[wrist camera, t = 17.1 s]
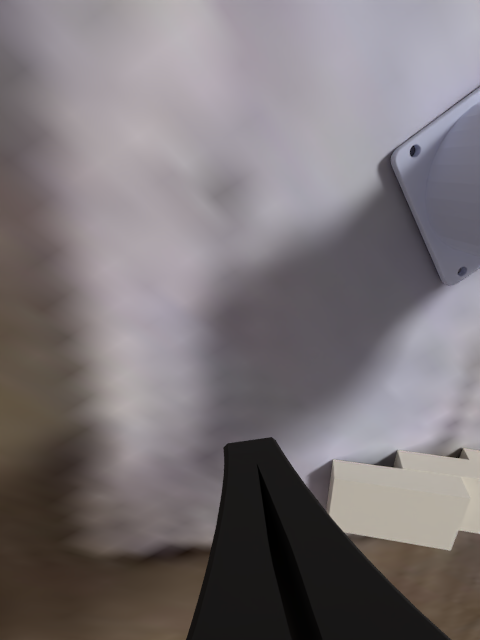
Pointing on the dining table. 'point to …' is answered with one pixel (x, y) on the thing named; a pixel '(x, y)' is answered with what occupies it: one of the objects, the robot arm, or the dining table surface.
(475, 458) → the ivory domino
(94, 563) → the dining table surface
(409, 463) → the ivory domino
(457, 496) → the ivory domino
